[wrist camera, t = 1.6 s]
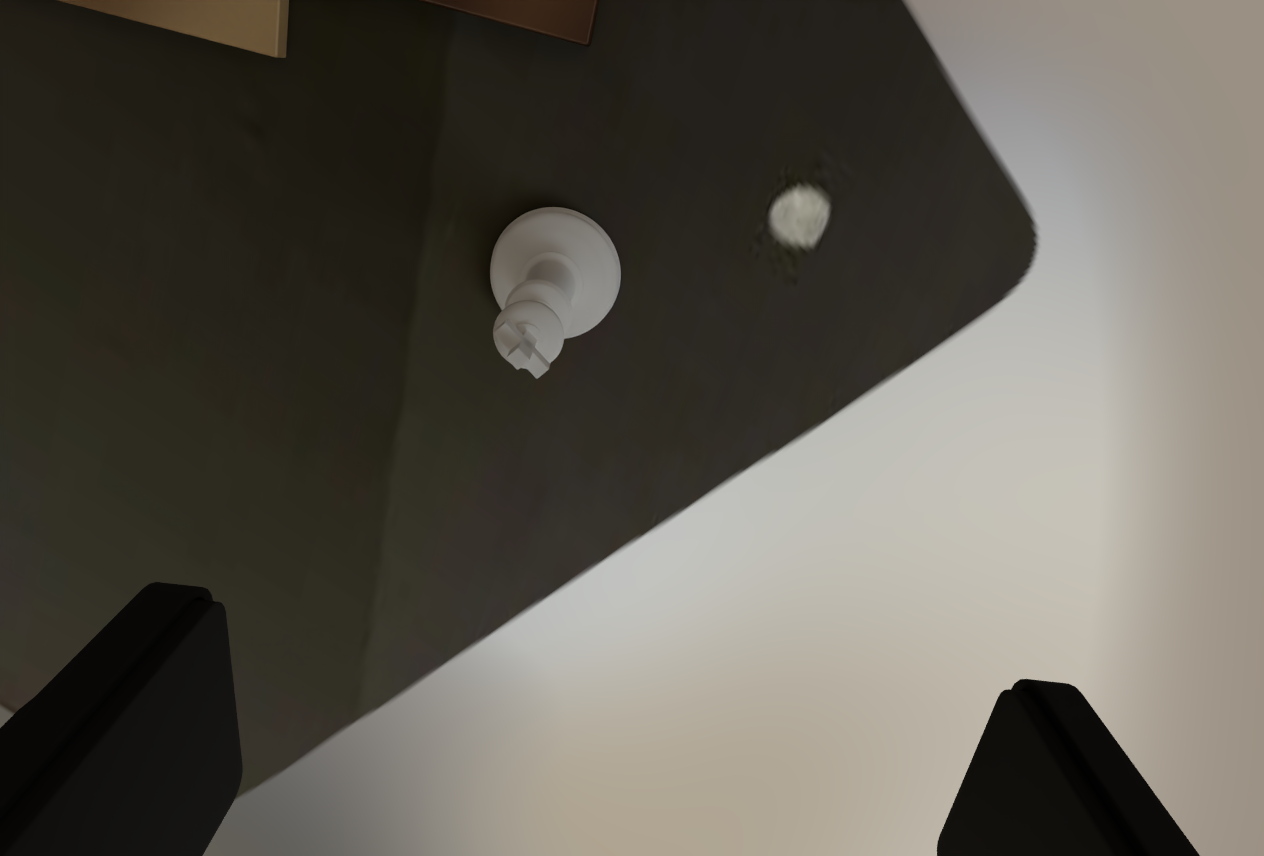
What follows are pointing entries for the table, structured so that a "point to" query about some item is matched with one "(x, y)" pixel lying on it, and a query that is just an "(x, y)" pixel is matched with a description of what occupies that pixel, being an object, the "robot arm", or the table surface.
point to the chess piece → (550, 284)
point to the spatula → (258, 9)
